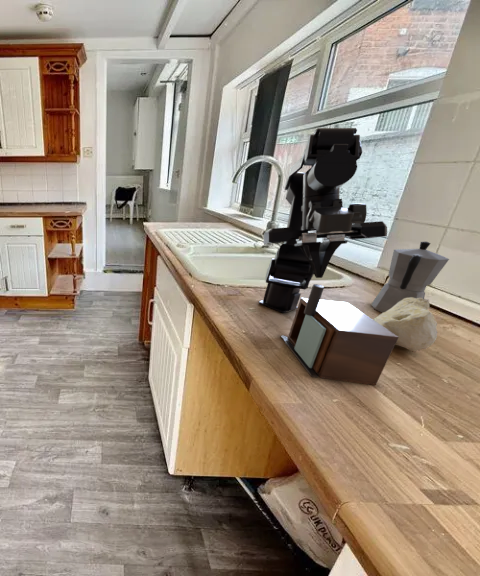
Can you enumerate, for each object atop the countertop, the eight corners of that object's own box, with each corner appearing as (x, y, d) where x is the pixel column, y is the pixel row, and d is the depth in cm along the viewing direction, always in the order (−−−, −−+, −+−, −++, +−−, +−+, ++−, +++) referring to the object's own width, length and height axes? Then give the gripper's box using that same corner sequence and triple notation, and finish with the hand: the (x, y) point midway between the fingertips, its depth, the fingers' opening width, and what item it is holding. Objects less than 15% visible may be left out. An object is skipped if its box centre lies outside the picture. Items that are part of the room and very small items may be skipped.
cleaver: (290, 347, 58) (311, 283, 53) (299, 348, 58) (321, 284, 53) (305, 367, 52) (330, 297, 47) (315, 368, 52) (342, 298, 47)
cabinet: (280, 336, 63) (293, 296, 59) (331, 342, 61) (347, 302, 58) (311, 376, 51) (329, 329, 47) (375, 385, 49) (399, 337, 46)
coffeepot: (376, 299, 85) (403, 234, 78) (423, 311, 78) (457, 242, 71) (362, 313, 76) (392, 241, 69) (414, 328, 69) (453, 251, 62)
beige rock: (397, 373, 56) (494, 334, 52) (372, 338, 57) (465, 297, 53) (356, 353, 71) (429, 321, 66) (337, 326, 72) (407, 292, 67)
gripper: (275, 194, 54) (275, 281, 56) (409, 181, 48) (404, 279, 50) (263, 204, 65) (262, 277, 66) (371, 195, 59) (368, 275, 60)
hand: (318, 277), depth 60 cm, fingers closed
